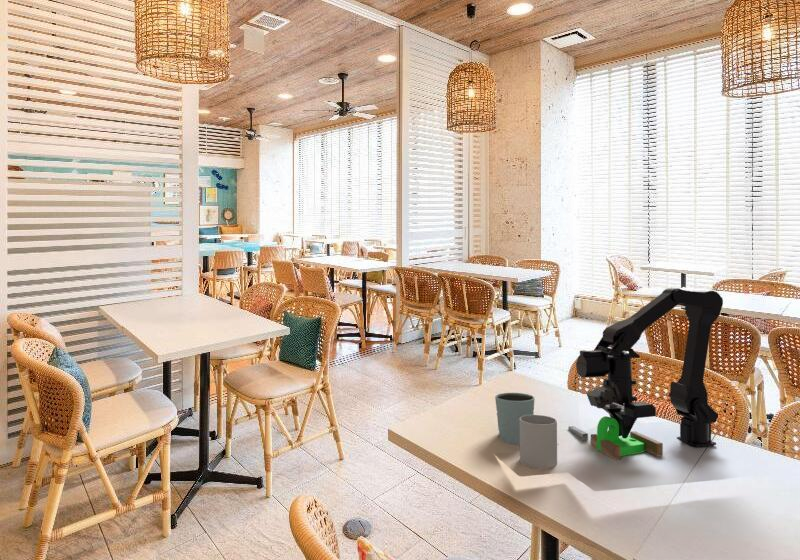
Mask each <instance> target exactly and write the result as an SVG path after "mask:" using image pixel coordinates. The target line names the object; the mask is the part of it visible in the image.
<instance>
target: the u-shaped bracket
mask: <svg viewBox="0 0 800 560" xmlns="http://www.w3.org/2000/svg"><path fill="white" fill-rule="evenodd" d="M567 428H568V430H569V432H571V433H572V434H574V436H576V437H577V438H578V439H580V440H581V441H585V442H586V441H589V433H588V432H586V431H584V430H582V429H580V428H578V427H576V426H574V425H572V426H571V425H568V427H567Z"/></svg>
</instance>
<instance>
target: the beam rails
mask: <svg viewBox="0 0 800 560" xmlns="http://www.w3.org/2000/svg"><path fill="white" fill-rule="evenodd" d="M629 436H631V437H634V438H636V439H638V440H640V441H642V442H644V443H645V451H646V452H648V453H650V454H653V455H654V456H658V457H663V456H664V455H663V453H664V451H663V449H664V447H663V446H664V445H663V442H661V441H658V440H657V439H653V438H652V437H649V436H646V435H645V434H642V433H641V432H638V431H632V430H631V431H630V433H629ZM600 443H601V451H600V450H598V451H599V452H601V453H603V454H605V455H606V456H608V457H610V458H612V459H613V460H615V461H616V460H621V459H622V458H621V457H622V456H621V446H619V445H617V444H615V443H613V442H611V441H609V440H601V439H600ZM590 445H591V446H593V447H594V448H595V449H596V450H597V433H593V434H592V433H591V434H590Z"/></svg>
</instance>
